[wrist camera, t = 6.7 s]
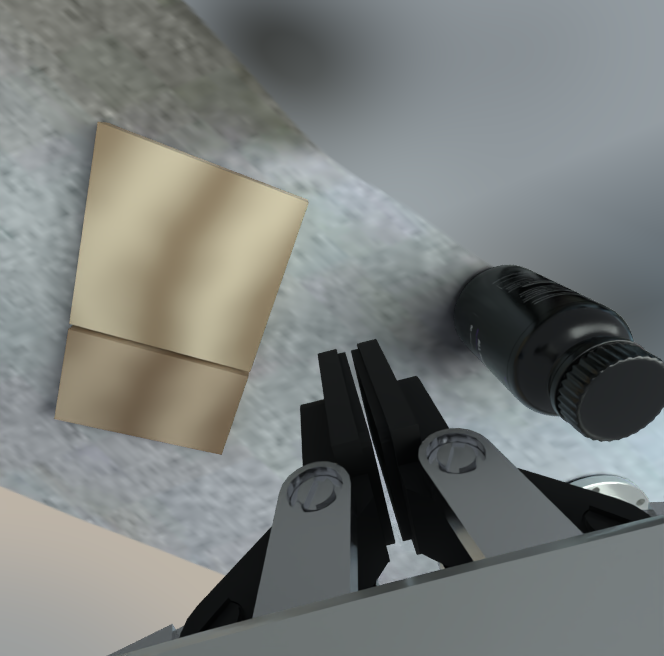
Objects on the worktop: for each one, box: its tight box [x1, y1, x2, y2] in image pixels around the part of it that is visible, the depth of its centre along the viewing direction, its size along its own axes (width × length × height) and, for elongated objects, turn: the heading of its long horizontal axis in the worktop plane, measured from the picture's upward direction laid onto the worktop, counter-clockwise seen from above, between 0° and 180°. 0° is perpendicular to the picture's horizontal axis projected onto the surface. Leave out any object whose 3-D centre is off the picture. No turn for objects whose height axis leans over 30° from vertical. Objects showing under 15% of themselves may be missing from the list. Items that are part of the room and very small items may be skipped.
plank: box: [69, 122, 309, 372], centre depth 25 cm, size 12×12×1 cm
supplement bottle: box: [454, 265, 664, 442], centre depth 24 cm, size 7×7×12 cm
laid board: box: [54, 325, 249, 455], centre depth 28 cm, size 12×7×1 cm, turn 69°
